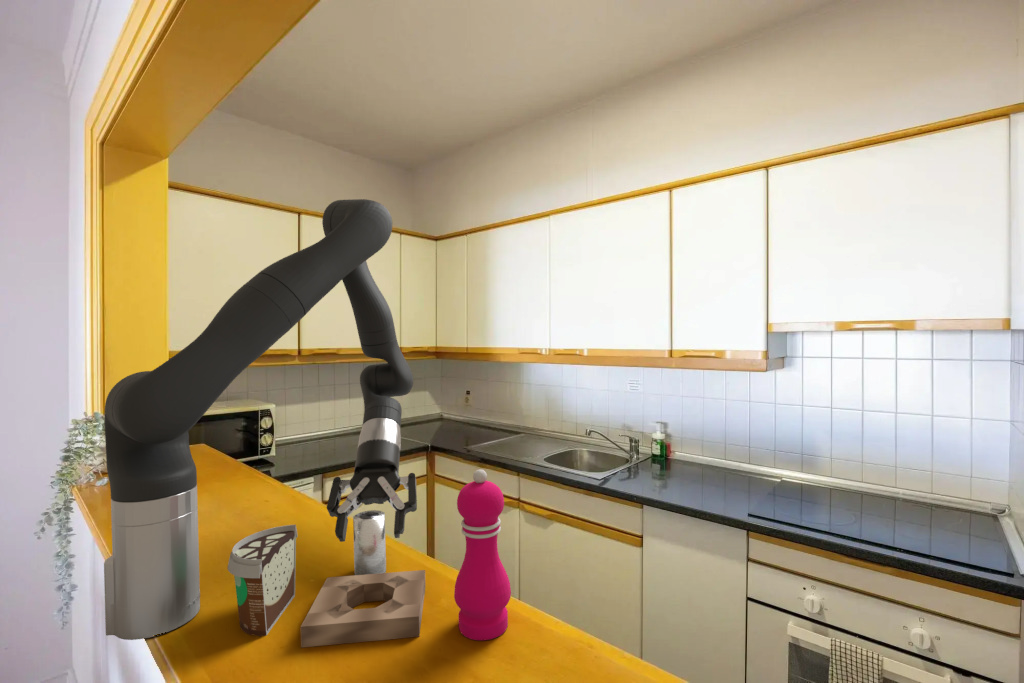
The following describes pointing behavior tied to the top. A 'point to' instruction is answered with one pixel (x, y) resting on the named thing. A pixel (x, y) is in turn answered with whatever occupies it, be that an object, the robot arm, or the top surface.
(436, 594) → the top surface
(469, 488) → the pepper mill
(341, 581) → the frame
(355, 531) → the bushing
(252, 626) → the food container
